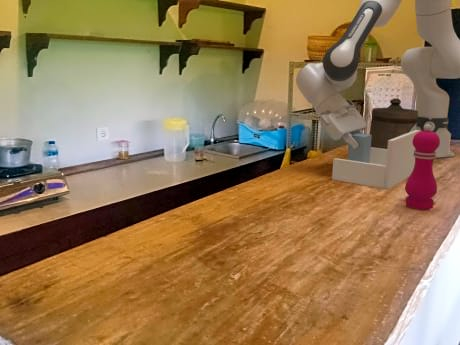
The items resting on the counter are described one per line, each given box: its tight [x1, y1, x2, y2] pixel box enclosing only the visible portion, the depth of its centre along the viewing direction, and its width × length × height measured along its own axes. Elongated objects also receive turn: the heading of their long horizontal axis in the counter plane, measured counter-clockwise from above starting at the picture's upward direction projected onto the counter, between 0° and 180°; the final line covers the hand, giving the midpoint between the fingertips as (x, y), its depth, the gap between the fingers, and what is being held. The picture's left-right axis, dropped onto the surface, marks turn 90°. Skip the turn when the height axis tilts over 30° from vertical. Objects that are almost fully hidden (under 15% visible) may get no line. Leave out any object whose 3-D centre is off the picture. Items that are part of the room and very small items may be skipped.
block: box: [346, 133, 372, 163], centre depth 143 cm, size 5×5×9 cm
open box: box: [331, 130, 420, 190], centre depth 140 cm, size 24×16×14 cm, turn 143°
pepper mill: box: [404, 124, 440, 211], centre depth 114 cm, size 7×7×20 cm
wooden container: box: [369, 97, 418, 149], centre depth 161 cm, size 15×15×22 cm
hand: (361, 145), depth 142 cm, fingers closed on block, 5 cm apart
